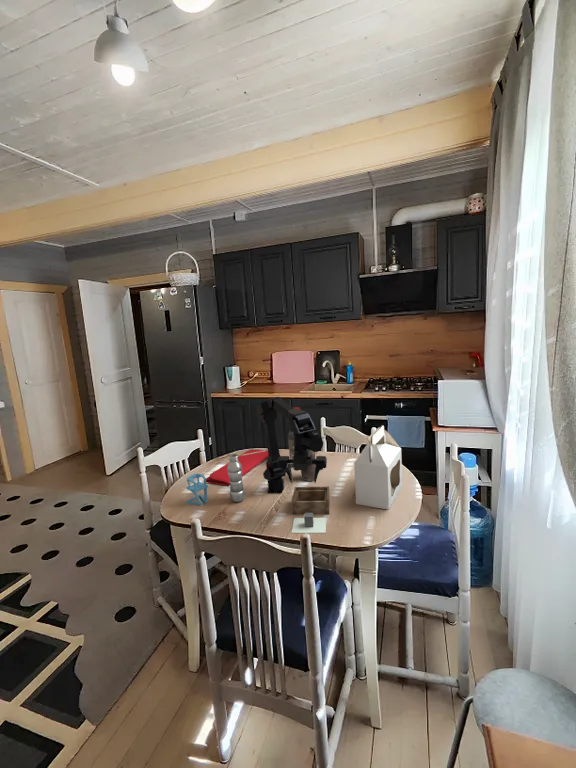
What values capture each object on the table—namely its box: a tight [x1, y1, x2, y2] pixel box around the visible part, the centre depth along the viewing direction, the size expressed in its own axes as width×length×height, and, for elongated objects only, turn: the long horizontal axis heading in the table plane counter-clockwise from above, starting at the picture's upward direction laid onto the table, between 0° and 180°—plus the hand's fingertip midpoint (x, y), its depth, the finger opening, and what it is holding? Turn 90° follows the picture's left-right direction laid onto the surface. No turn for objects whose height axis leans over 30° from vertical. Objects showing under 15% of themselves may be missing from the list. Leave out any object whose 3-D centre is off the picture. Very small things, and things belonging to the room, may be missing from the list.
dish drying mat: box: [205, 449, 269, 487], centre depth 197 cm, size 16×41×4 cm, turn 153°
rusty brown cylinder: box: [300, 450, 316, 482], centre depth 177 cm, size 8×7×20 cm
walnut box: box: [291, 485, 331, 515], centre depth 151 cm, size 14×11×6 cm
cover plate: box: [291, 513, 327, 534], centre depth 138 cm, size 12×10×5 cm
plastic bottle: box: [227, 453, 246, 503], centre depth 160 cm, size 6×7×20 cm
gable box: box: [353, 424, 403, 510], centre depth 155 cm, size 22×13×28 cm, turn 151°
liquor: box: [287, 406, 304, 468], centre depth 194 cm, size 9×9×30 cm
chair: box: [185, 473, 209, 507], centre depth 162 cm, size 8×8×12 cm
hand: (303, 482), depth 148 cm, fingers open, 9 cm apart
